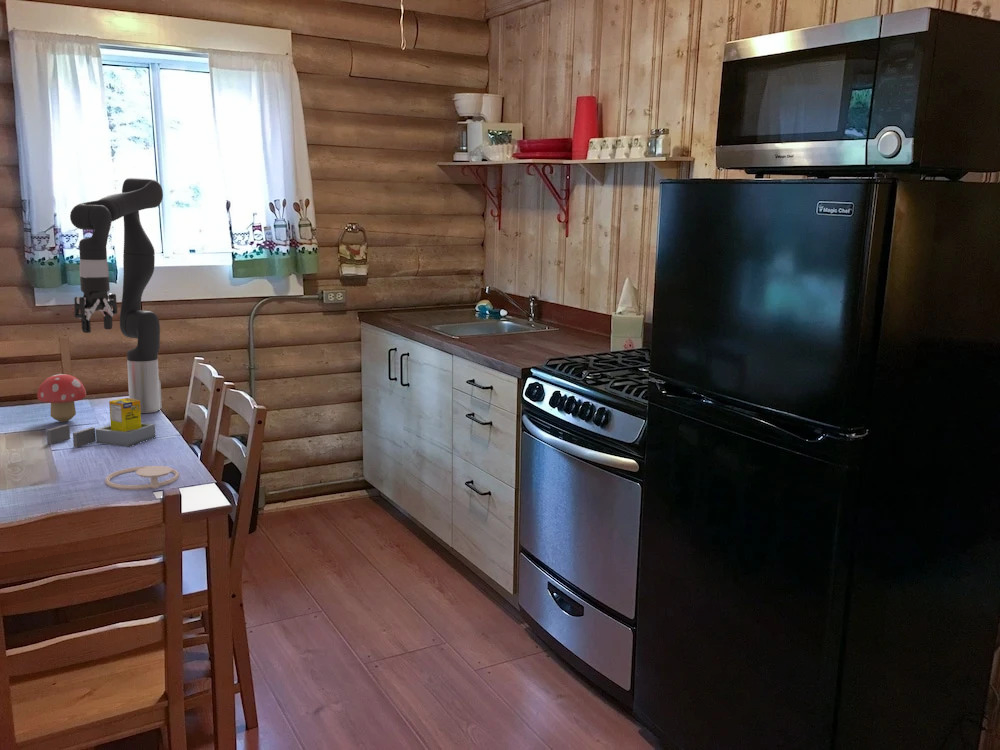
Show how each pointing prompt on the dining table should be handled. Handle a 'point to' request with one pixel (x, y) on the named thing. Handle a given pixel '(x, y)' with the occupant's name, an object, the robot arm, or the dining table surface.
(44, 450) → the dining table surface
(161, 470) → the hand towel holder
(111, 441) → the tray
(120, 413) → the supplement box
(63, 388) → the decorative mushroom
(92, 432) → the grey blocks
